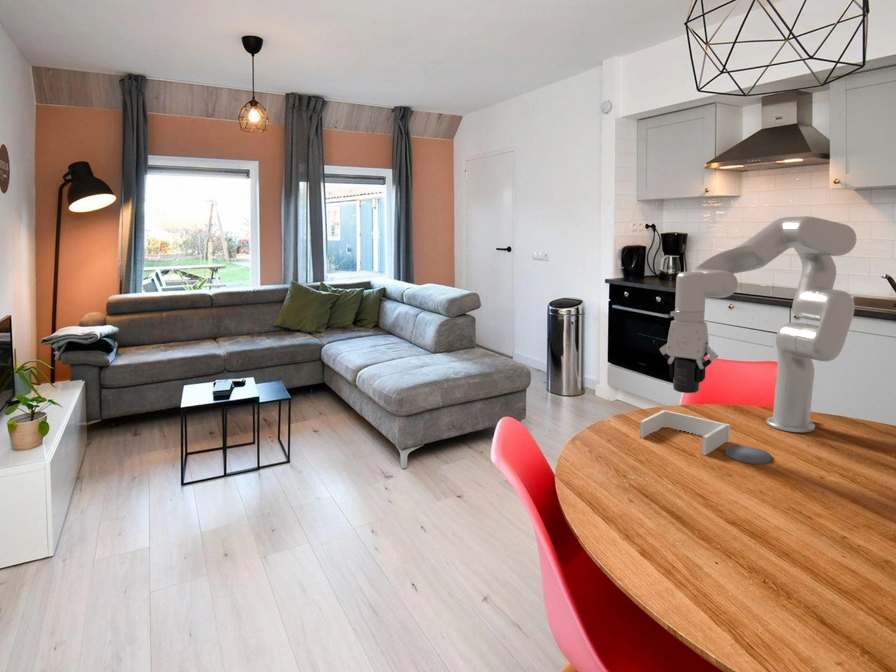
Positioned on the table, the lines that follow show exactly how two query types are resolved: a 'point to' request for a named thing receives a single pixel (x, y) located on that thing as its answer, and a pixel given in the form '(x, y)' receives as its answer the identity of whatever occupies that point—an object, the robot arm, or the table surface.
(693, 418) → the white u-shaped bracket
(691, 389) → the supplement bottle
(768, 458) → the mat
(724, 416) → the table surface
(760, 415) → the table surface
